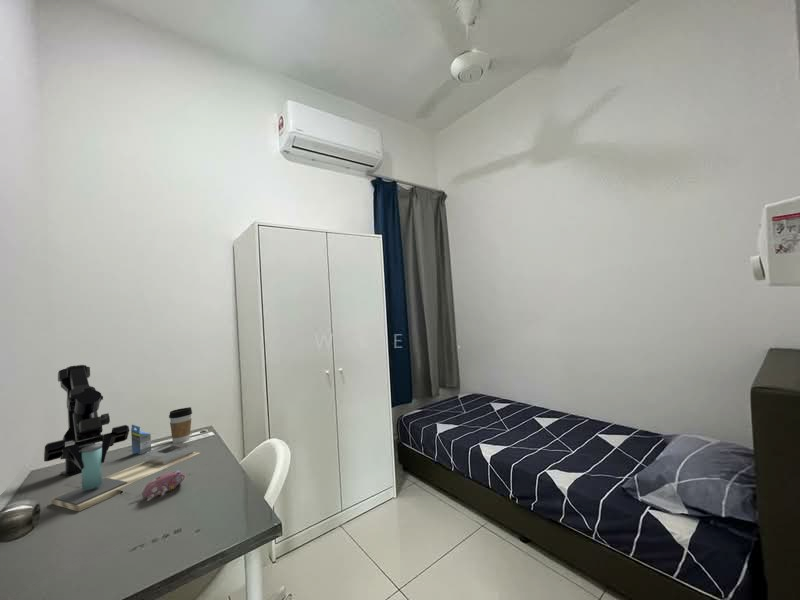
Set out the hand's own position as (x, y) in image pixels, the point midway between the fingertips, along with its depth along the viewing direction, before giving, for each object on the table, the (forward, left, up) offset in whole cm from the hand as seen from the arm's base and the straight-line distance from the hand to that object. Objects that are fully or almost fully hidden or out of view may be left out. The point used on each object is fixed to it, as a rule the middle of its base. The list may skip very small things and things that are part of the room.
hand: (92, 465), depth 93 cm
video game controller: (+21, +8, -10) cm, 24 cm away
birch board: (-1, +12, -9) cm, 15 cm away
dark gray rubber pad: (-1, 0, -8) cm, 8 cm away
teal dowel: (-1, 0, -7) cm, 7 cm away
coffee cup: (-17, +37, -10) cm, 42 cm away
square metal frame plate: (-2, +23, -8) cm, 25 cm away
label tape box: (-23, +25, -10) cm, 36 cm away
